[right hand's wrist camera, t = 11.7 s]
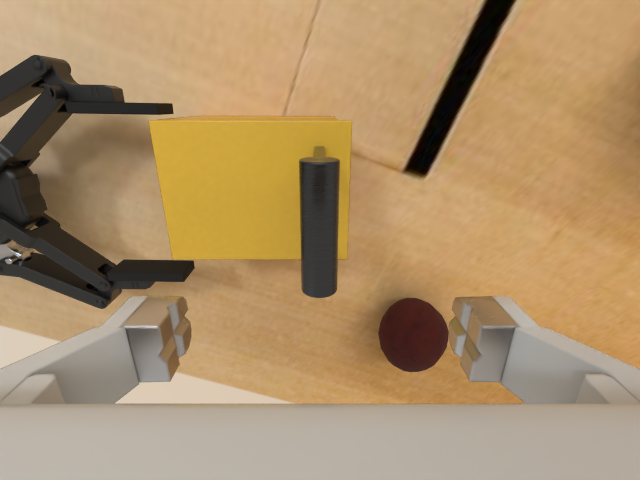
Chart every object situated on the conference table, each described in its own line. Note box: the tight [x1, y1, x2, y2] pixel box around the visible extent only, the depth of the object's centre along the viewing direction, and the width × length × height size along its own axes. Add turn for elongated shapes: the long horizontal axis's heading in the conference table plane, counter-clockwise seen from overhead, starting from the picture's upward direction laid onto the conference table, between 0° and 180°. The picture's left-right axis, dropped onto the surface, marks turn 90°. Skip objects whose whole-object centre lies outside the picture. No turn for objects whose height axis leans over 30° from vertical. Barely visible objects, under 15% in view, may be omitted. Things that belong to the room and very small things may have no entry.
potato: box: [379, 298, 448, 372], centre depth 37 cm, size 7×8×7 cm
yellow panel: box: [149, 120, 352, 298], centre depth 21 cm, size 14×10×9 cm
